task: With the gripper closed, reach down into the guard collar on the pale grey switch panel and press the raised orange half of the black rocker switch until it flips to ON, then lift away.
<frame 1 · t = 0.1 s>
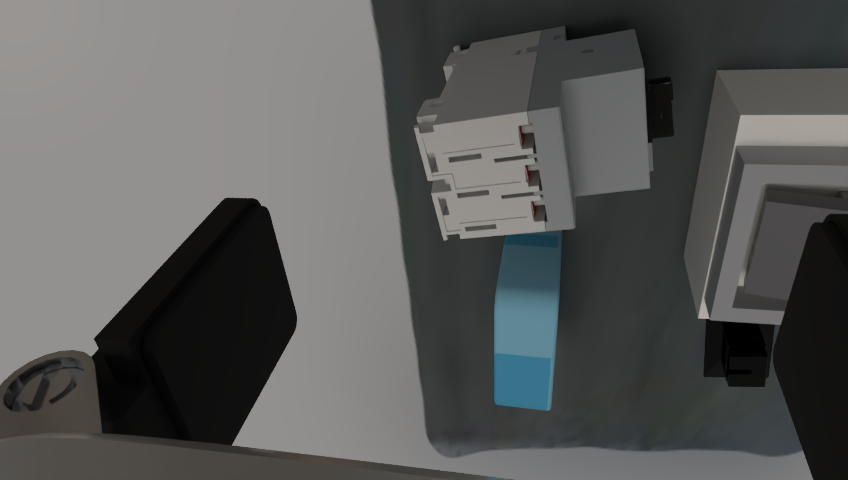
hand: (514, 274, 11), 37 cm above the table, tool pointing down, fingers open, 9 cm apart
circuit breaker: (557, 77, 46), on the table
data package: (533, 267, 56), on the table
black slotted block: (736, 334, 56), on the table
switch panel: (798, 173, 46), on the table
rocker: (846, 257, 37), point 11 cm above the table, hinge at 12.0°
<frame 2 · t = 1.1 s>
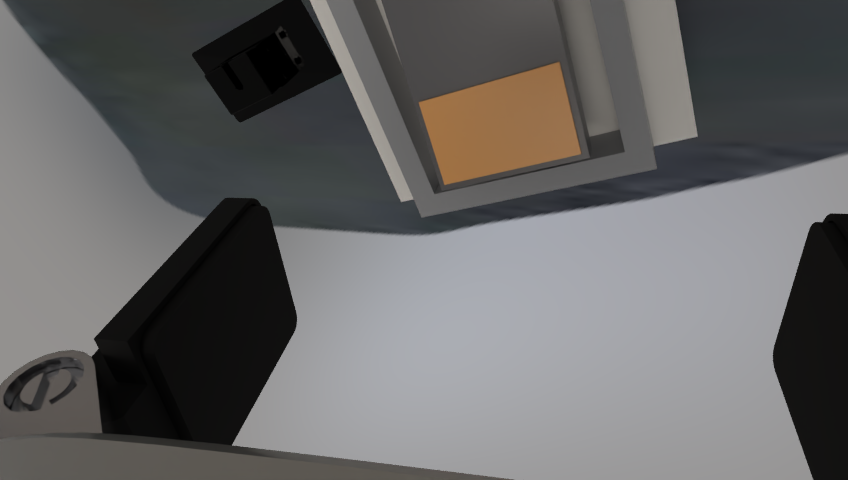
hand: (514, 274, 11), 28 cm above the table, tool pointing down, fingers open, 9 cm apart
black slotted block: (270, 59, 42), on the table
switch panel: (514, 1, 36), on the table
rocker: (485, 64, 27), point 11 cm above the table, hinge at 12.0°
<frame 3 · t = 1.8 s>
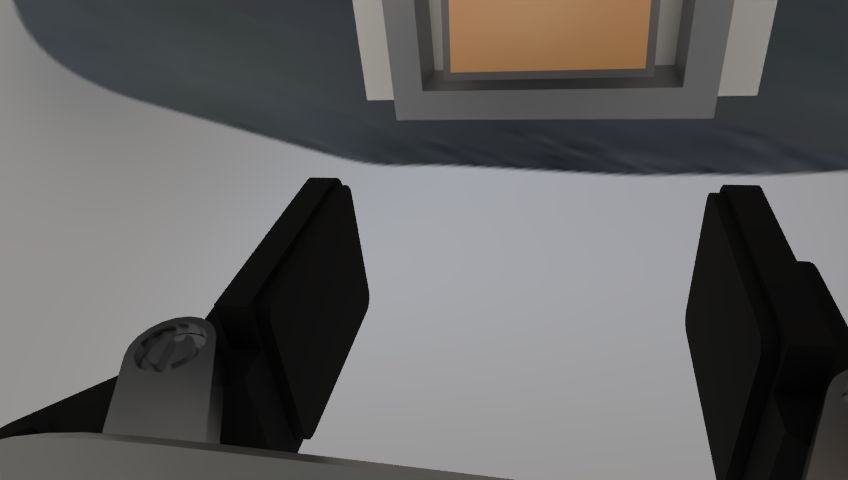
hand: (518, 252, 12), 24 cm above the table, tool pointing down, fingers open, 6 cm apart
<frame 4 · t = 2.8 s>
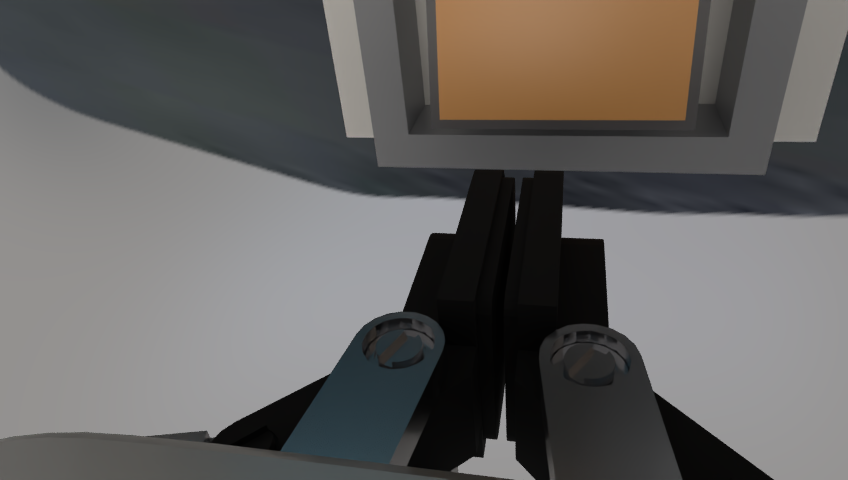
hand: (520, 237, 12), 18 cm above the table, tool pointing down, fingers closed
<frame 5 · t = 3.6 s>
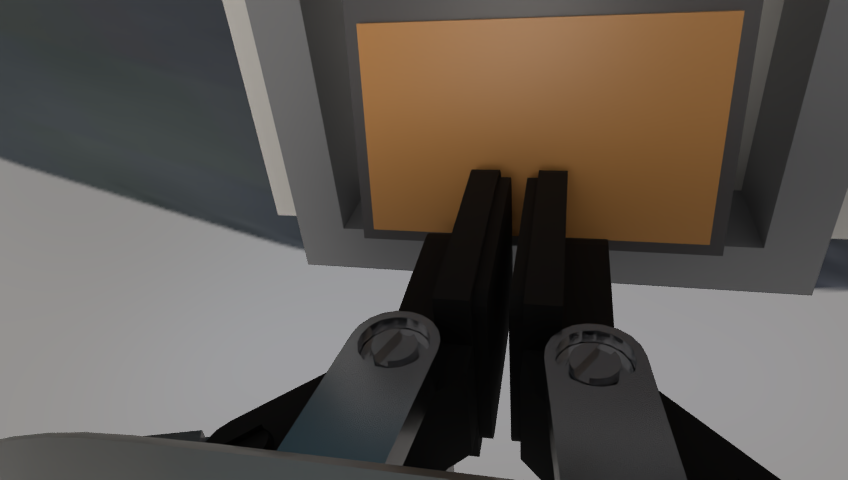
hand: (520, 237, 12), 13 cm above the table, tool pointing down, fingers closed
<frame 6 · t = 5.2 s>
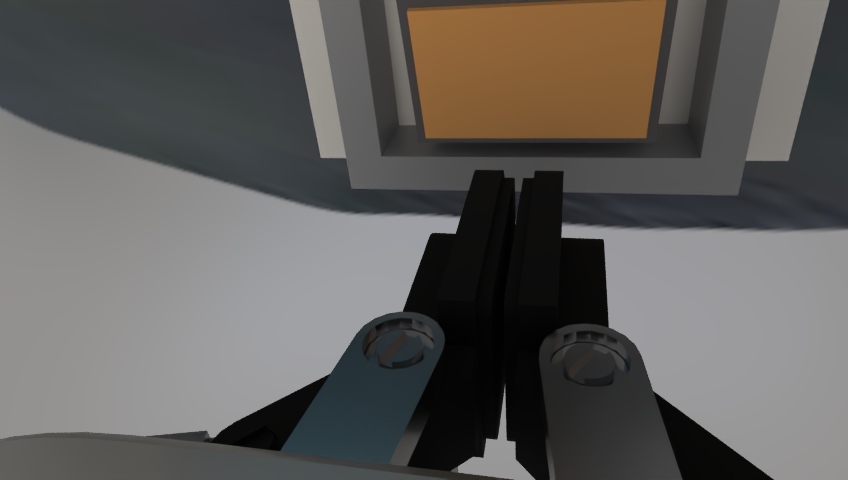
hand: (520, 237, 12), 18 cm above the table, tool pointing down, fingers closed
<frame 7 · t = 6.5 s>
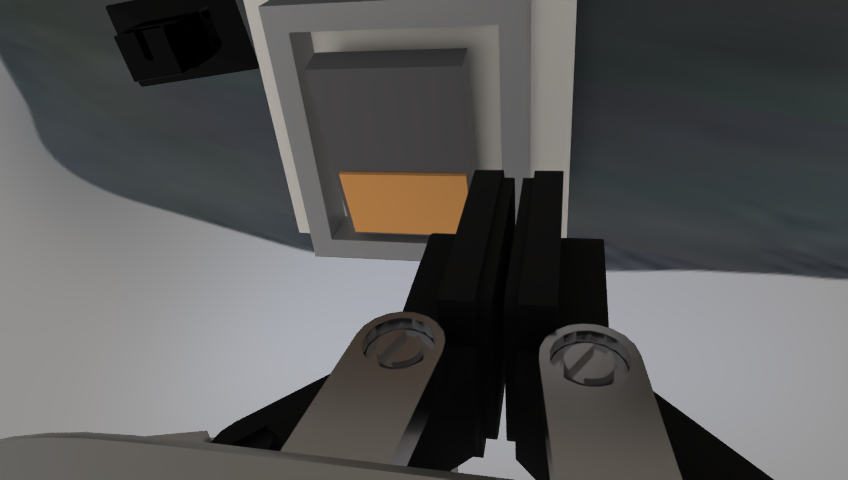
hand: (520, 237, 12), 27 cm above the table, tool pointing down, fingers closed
black slotted block: (187, 33, 42), on the table
switch panel: (442, 74, 39), on the table
rocker: (402, 153, 30), point 11 cm above the table, hinge at -11.4°
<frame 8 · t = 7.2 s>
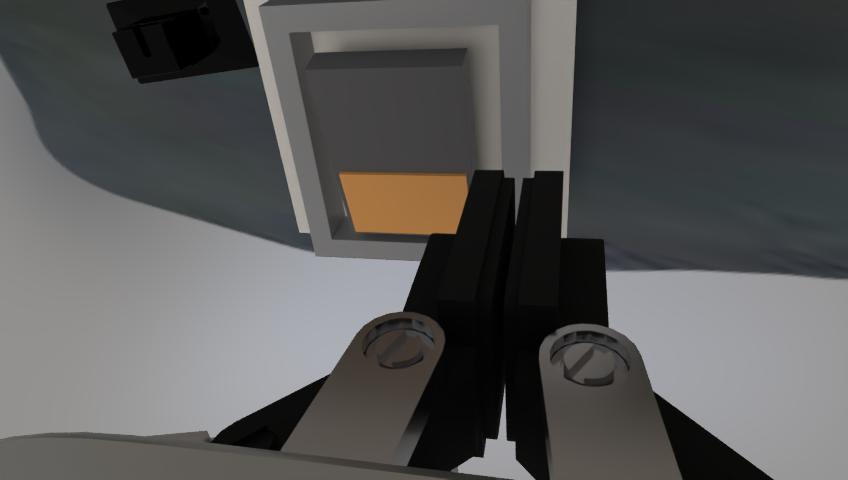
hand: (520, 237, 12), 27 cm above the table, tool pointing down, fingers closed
black slotted block: (186, 31, 41), on the table
switch panel: (442, 74, 39), on the table
rocker: (402, 153, 30), point 11 cm above the table, hinge at -11.5°
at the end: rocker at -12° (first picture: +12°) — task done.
